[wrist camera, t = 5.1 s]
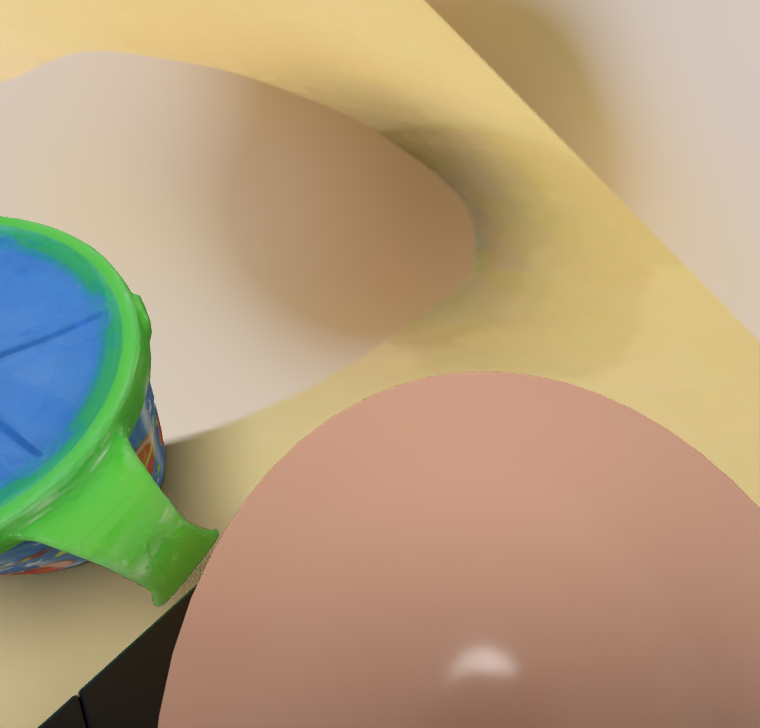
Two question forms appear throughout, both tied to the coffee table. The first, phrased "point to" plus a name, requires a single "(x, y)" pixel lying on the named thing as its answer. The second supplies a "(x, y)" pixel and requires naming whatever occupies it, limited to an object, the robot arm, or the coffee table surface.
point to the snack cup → (81, 420)
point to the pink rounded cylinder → (479, 573)
